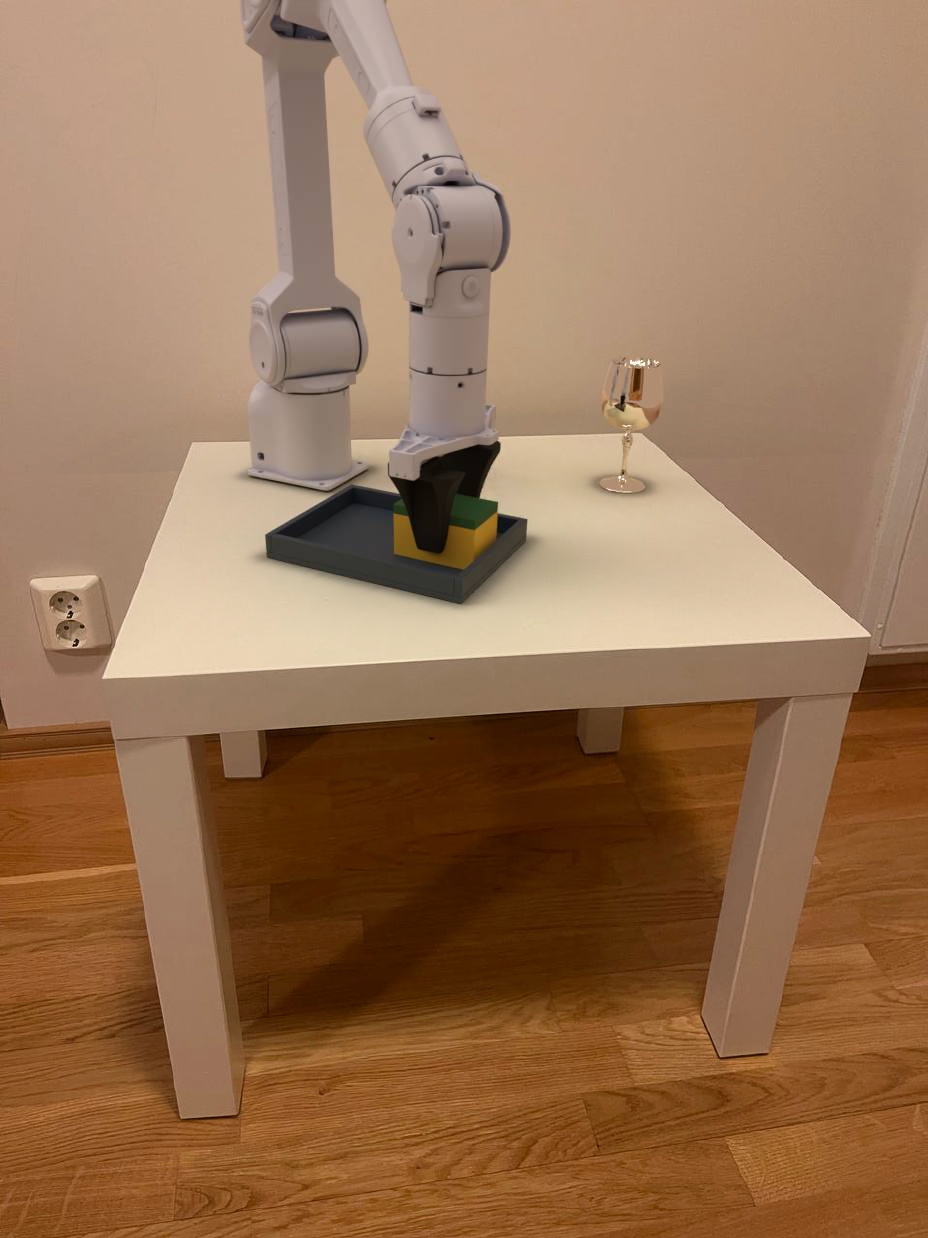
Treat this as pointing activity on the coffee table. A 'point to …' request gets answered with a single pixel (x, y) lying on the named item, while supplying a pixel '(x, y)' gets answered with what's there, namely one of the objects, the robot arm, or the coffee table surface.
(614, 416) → the wineglass
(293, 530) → the tray
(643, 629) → the coffee table surface
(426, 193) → the robot arm
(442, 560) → the sponge
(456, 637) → the coffee table surface
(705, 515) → the coffee table surface
